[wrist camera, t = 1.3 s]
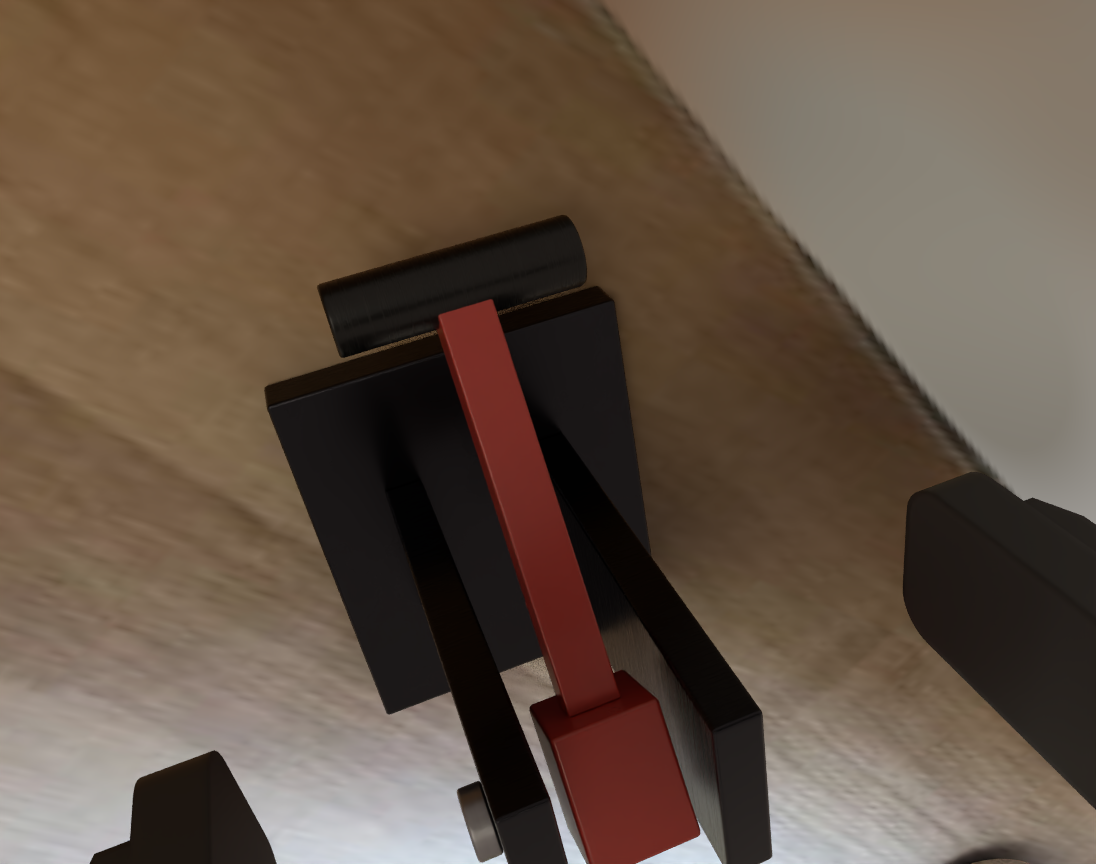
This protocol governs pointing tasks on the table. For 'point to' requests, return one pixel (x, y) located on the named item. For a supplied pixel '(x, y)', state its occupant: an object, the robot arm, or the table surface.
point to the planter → (1001, 861)
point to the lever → (533, 526)
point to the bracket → (512, 566)
